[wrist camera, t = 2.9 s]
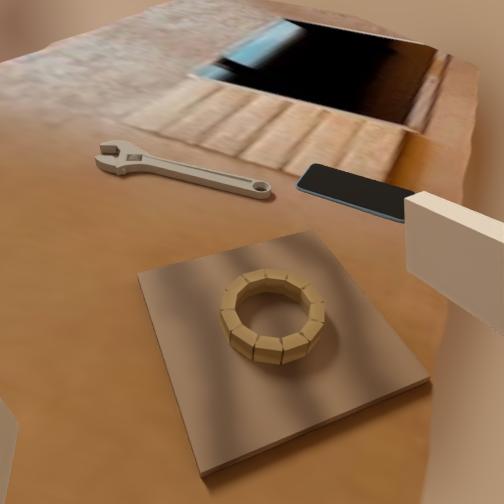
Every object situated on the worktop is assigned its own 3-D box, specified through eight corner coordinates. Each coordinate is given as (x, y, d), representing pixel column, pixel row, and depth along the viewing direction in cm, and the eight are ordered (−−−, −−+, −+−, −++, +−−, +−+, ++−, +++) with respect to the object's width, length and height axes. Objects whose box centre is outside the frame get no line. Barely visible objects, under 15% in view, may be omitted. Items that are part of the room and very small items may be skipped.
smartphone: (312, 161, 60) (418, 191, 56) (311, 166, 61) (416, 196, 57) (292, 186, 55) (407, 221, 51) (292, 191, 56) (405, 227, 52)
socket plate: (201, 478, 29) (199, 461, 27) (138, 280, 42) (134, 258, 40) (426, 382, 36) (439, 362, 34) (311, 236, 49) (315, 215, 47)
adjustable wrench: (273, 193, 56) (274, 181, 54) (254, 220, 51) (255, 209, 50) (114, 147, 62) (112, 135, 61) (85, 168, 57) (82, 156, 56)
